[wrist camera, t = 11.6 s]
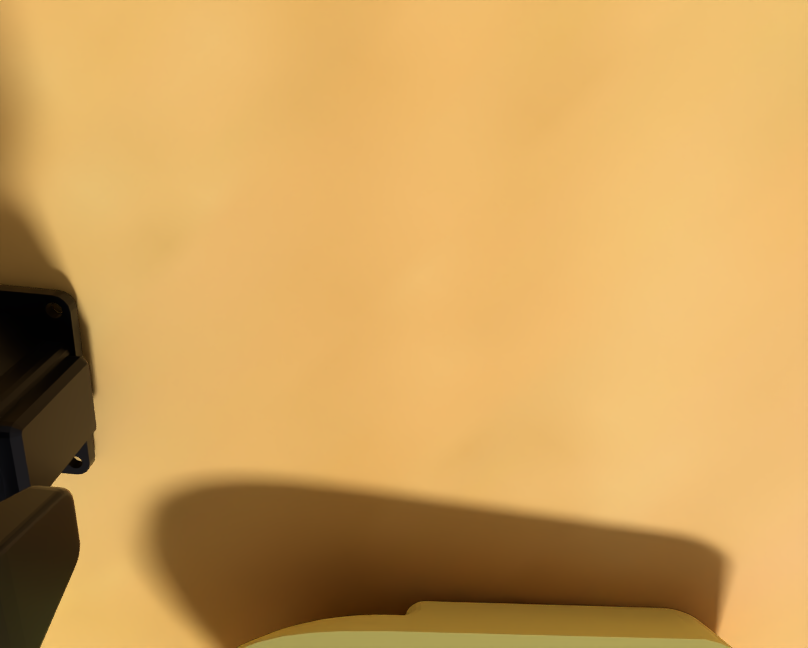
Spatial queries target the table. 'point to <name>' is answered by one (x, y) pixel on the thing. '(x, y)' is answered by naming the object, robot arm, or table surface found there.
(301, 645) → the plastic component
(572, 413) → the table surface
